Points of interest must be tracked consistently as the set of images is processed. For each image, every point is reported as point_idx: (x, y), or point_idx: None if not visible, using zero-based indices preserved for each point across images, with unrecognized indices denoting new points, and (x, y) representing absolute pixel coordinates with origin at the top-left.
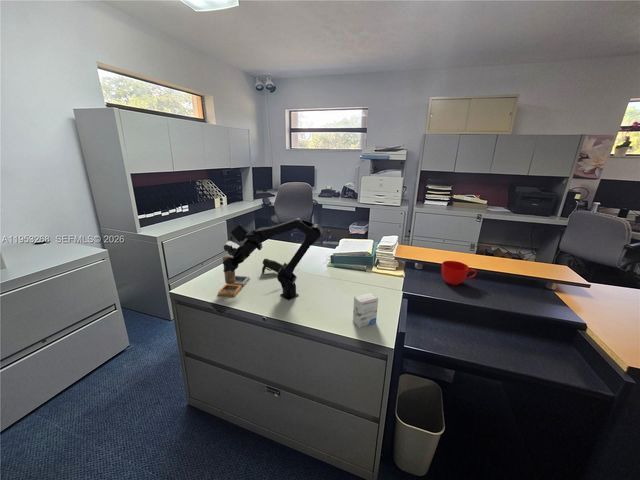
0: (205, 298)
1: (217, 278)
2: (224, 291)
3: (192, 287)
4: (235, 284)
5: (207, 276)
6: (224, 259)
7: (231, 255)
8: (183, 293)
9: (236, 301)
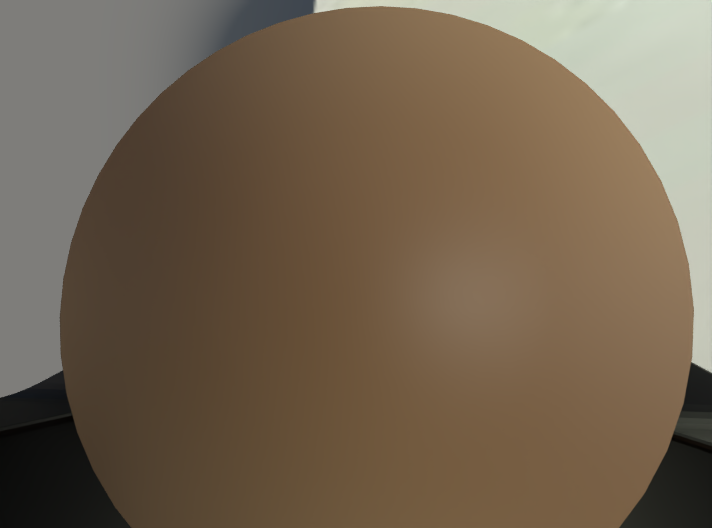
0: None
1: (604, 98)
2: None
3: (411, 7)
4: None
5: (619, 2)
6: (121, 211)
7: (658, 388)
8: (321, 4)
9: None
